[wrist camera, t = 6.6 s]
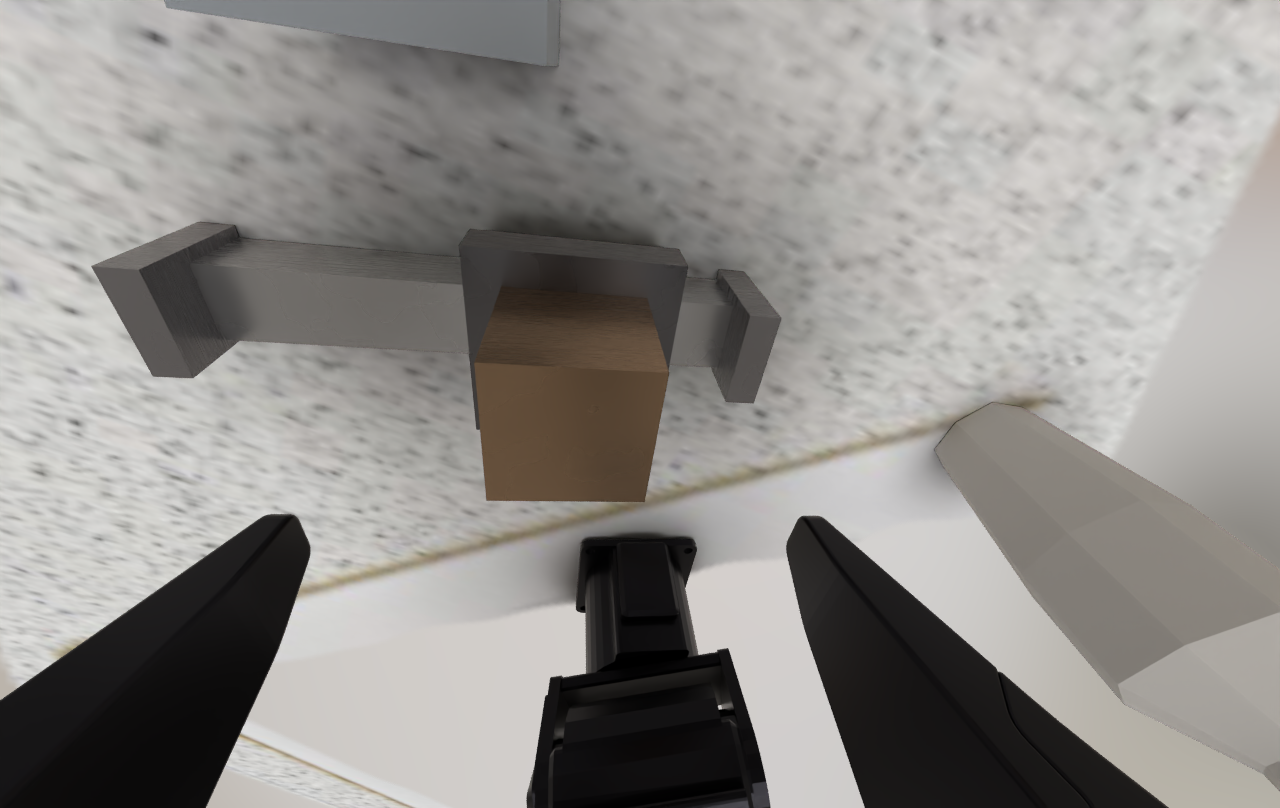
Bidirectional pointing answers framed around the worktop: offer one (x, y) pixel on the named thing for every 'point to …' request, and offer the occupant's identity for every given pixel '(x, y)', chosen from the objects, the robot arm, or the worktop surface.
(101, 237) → the worktop surface
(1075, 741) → the robot arm
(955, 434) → the low poly bottle
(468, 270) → the carriage
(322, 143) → the worktop surface
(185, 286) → the rail
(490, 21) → the grey hollow block
